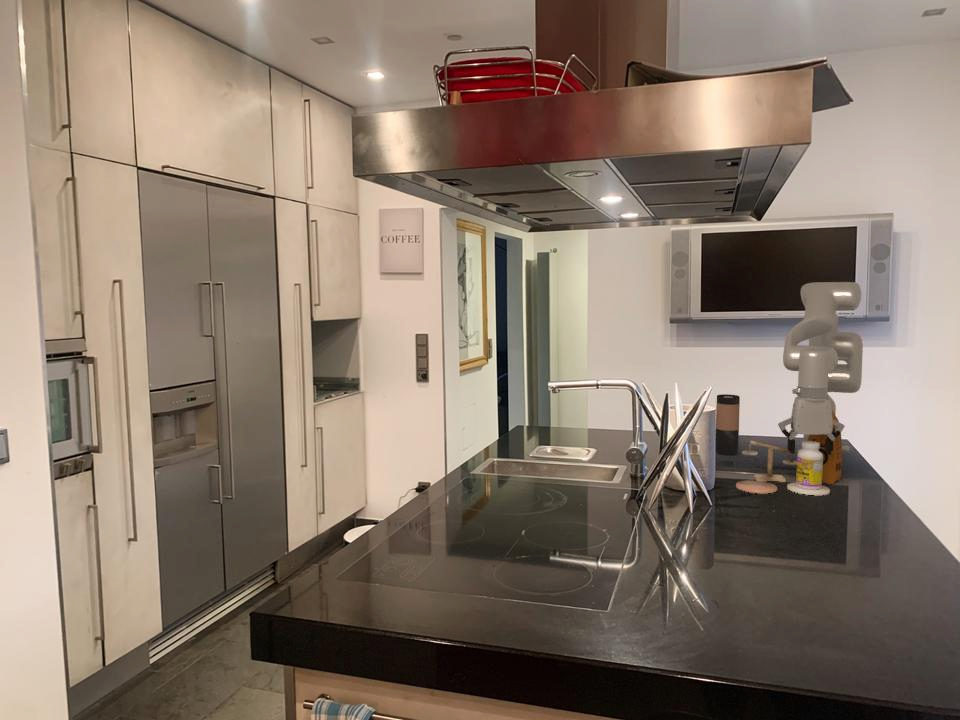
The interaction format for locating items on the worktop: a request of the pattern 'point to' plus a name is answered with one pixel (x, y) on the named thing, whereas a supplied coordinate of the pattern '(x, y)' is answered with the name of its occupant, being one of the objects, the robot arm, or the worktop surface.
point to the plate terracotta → (756, 487)
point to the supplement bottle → (809, 466)
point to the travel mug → (727, 424)
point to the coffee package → (830, 456)
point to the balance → (770, 462)
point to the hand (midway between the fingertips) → (809, 453)
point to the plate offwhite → (818, 492)
